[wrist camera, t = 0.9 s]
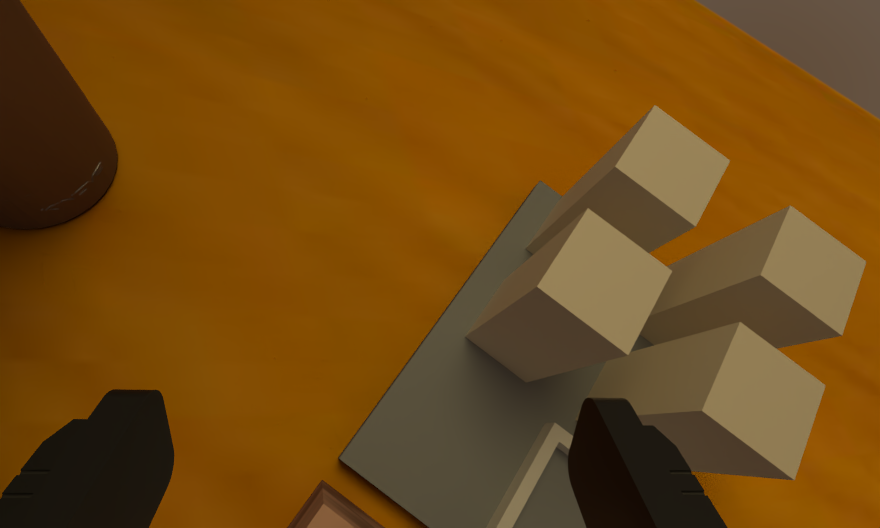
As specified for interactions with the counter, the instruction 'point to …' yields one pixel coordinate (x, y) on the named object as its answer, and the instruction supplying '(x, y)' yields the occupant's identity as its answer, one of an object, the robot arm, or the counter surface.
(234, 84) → the counter surface
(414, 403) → the pillar board
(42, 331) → the counter surface
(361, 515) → the terracotta pillar
